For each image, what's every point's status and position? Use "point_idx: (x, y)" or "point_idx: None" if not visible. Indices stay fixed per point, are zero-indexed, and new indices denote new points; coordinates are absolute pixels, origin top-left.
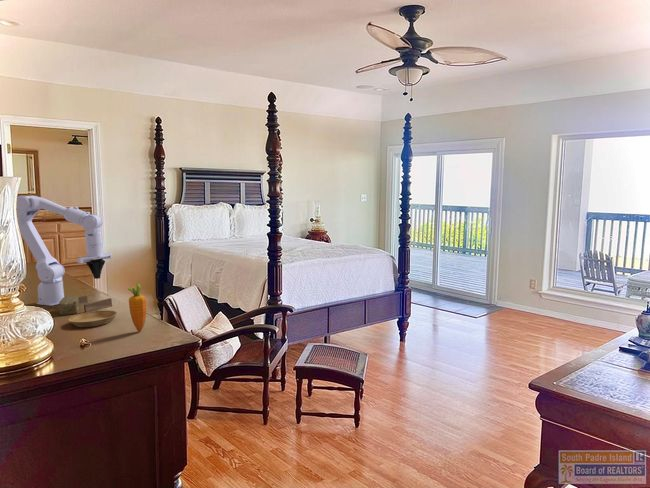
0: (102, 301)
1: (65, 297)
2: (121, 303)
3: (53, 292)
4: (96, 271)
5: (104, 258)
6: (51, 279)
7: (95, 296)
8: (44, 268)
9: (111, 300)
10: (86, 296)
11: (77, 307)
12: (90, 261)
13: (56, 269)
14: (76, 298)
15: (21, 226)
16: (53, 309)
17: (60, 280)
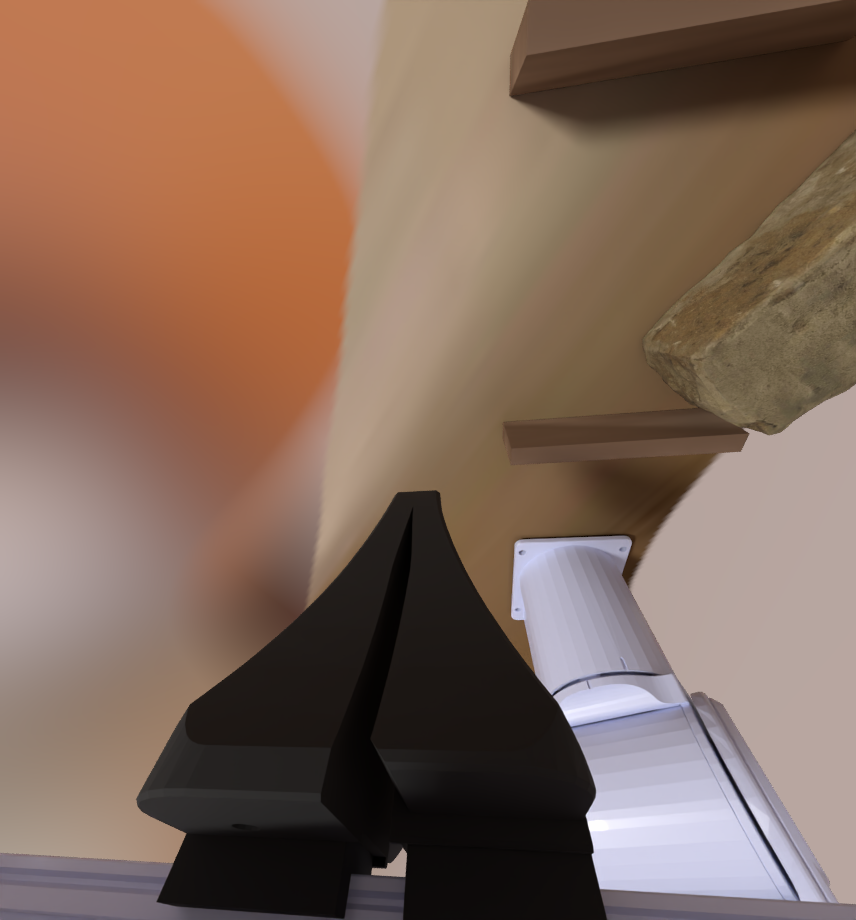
0: None
1: (768, 422)
2: (385, 83)
3: (629, 606)
4: (456, 556)
5: (97, 886)
6: (715, 705)
7: (366, 531)
8: (827, 878)
9: (524, 17)
10: (515, 445)
11: (833, 178)
12: (592, 884)
13: (674, 822)
14: (815, 274)
15: None
16: (701, 461)
17: (603, 683)
